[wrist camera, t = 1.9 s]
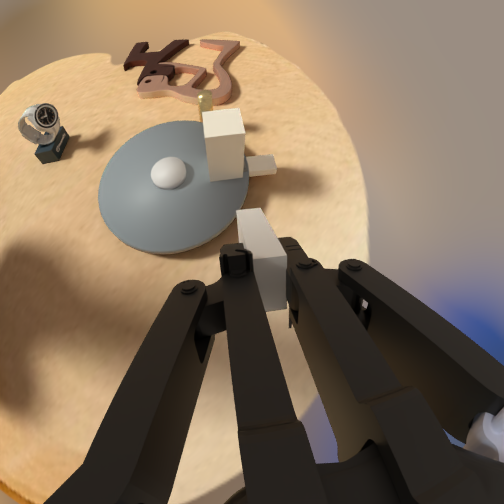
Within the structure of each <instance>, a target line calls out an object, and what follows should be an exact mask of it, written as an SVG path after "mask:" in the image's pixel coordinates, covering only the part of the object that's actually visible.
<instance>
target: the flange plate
mask: <svg viewBox="0 0 504 504" xmlns="http://www.w3.org/2000/svg"><path fill="white" fill-rule="evenodd" d="M202 118H203V122H197V121H173V122H167V123H163V124H159V125H156V126H153V127H151V128H148V129H146V130H144V131H142V132H140V133H139V134H137V135H135V136H134V137H132V138H131V139H130V140H128V141H127V142H126V143H125V144H124V145H122V146H121V147H120V149H119V150H118V151H117V152H116V153H115V154H114V155H113V157H112V158H111V159H110V161H109V163H108V164H107V166H106V168H105V170H104V172H103V175H102V178H101V181H100V185H99V192H98V201H99V208H100V212H101V215H102V217H103V220H104V222H105V223H106V225H107V226H108V228H109V229H110V230H111V231H112V232H113V234H114V235H115V236H116V237H117V238H118V239H119V240H121V241H122V242H123V243H125V244H126V245H128V246H130V247H132V248H134V249H136V250H139V251H142V252H146V253H152V254H175V253H180V252H184V251H188V250H191V249H194V248H197V247H199V246H201V245H203V244H205V243H207V242H209V241H210V240H212V239H213V238H215V237H217V236H218V235H219V234H220V233H221V232H223V231H224V230H225V229H226V228H227V227H228V226H229V225H230V224H231V223H232V222H233V220H234V219H235V218H236V216H237V213H236V210H241V208H242V206H243V204H244V201H245V199H246V196H247V191H248V186H249V177H252V176H261V175H271V174H276V171H277V167H276V163H275V160H274V156H273V154H271V155H259V156H249V157H246V156H245V154H244V148H245V129H244V125H243V121H242V117H241V113H240V109H239V108H233V109H223V110H215V111H207V112H202Z"/></svg>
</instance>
